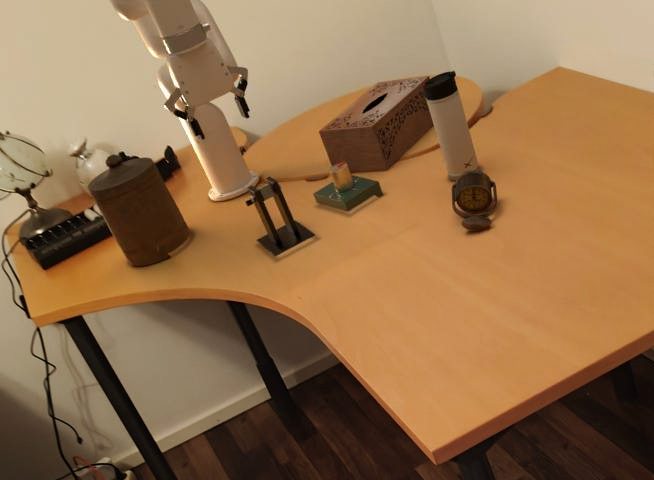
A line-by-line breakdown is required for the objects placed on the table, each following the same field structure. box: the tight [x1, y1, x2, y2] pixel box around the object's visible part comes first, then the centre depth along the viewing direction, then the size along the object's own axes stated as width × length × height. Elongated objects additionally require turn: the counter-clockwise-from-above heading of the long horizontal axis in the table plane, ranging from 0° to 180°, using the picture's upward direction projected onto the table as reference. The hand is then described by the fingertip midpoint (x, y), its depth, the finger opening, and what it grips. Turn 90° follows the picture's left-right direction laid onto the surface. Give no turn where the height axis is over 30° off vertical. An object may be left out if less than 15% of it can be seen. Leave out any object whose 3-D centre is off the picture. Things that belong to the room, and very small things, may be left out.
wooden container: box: [87, 154, 191, 267], centre depth 180 cm, size 15×15×22 cm
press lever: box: [244, 183, 275, 207], centre depth 167 cm, size 12×5×2 cm, turn 28°
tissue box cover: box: [318, 75, 434, 173], centre depth 193 cm, size 26×14×10 cm, turn 149°
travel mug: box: [423, 70, 480, 182], centre depth 164 cm, size 6×7×20 cm
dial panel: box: [312, 174, 384, 212], centre depth 175 cm, size 12×9×3 cm
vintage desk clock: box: [450, 170, 498, 232], centre depth 151 cm, size 7×13×10 cm
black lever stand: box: [247, 175, 316, 257], centre depth 165 cm, size 11×9×13 cm
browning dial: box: [328, 162, 354, 192], centre depth 173 cm, size 4×4×5 cm
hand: (224, 127), depth 165 cm, fingers open, 9 cm apart
